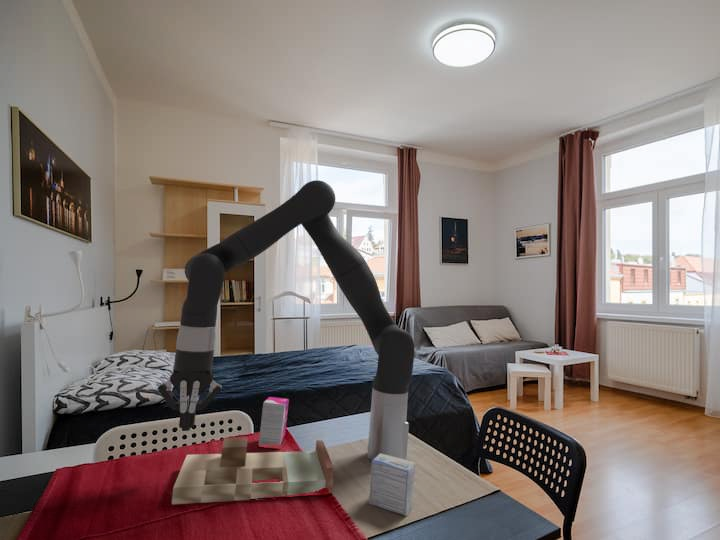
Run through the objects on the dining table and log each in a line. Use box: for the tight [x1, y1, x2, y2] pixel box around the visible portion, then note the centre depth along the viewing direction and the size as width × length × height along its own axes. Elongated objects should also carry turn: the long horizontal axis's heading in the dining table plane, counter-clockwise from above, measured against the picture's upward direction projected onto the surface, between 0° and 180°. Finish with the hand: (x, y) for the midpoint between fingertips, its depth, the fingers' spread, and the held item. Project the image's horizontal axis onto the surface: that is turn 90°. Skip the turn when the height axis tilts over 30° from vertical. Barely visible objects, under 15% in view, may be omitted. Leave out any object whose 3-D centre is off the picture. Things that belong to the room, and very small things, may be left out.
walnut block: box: [220, 437, 248, 467], centre depth 83 cm, size 5×5×4 cm
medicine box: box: [368, 453, 416, 517], centre depth 76 cm, size 8×4×9 cm, turn 65°
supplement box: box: [258, 396, 290, 445], centre depth 100 cm, size 6×6×12 cm
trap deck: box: [171, 439, 335, 505], centre depth 81 cm, size 30×14×6 cm, turn 105°
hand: (186, 429), depth 81 cm, fingers closed
